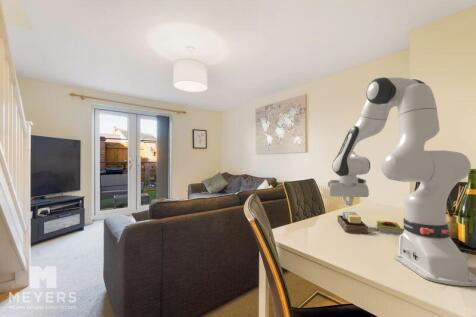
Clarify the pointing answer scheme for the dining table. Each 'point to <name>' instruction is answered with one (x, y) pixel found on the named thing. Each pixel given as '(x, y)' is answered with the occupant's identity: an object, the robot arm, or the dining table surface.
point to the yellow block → (354, 219)
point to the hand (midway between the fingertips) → (348, 204)
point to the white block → (349, 214)
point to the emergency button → (388, 227)
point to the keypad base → (352, 226)
